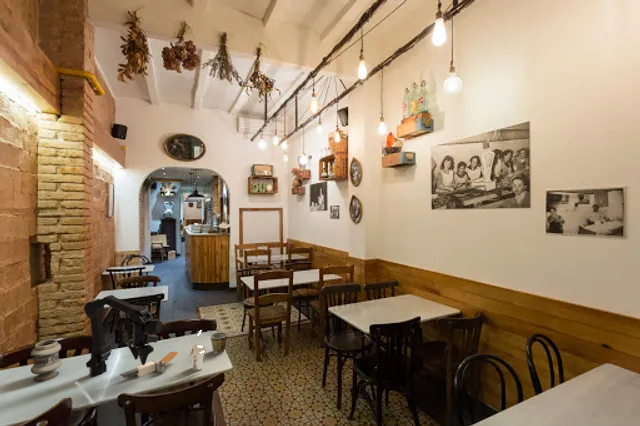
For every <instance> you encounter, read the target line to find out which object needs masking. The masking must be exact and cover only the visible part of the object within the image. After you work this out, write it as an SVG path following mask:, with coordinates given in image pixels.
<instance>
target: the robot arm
mask: <svg viewBox="0 0 640 426" xmlns="http://www.w3.org/2000/svg"><path fill="white" fill-rule="evenodd" d="M105 305H106V306H109V307H110V308H112V309H114V310H115V309H116V310H117V311H120V312H123V313H124V314H126V315H127V316H128V318H129V319H131V322H129V325H133V334H131V336H132V337H131V338H130V339H128V340H127V342H126V346H127V348H128V350H129V351H130V352H131V355H132V356H133V359H134V360H138V358H139V360H140V364H141V365H145V363H147V360H148V356H149V355H150V354H151V353H152V352H153V353H154V350H155V349H154V346H152V345H150V343H157V342H158V340H159V339H158V338H159V336H158V335H157V334H159V333H160V332H161V331H162V329H163V324H162V322H161V321H160V318H157V319H154V317H153V315H152V314H151V312H149V309H148V308H147V307H146V306H143V305H135V304H132V303H129V302H128V301H125V300H124V299H123V300H122V299H120V298H118V297H116V296H115V295H113V294H110V295H107V296H104V297H103V298H101V299H100V298H95V299H93V300H91V301H88V302H86V303H85V304H84V306H83V310H84V312H85V315H86V317H88V318H89V320H90V328H91V337H92V342H93V344H92V345H93V347H92V350H91V352H90V359H88V361H87V362H86V363H85V365H86V368H88V369H89V374H88V376H90V377H91V378H92V377H98V376H100V375H103V374H104V373H106V372H107V371H108V370H107V363H106V362H107V361H108V360H109V358H110V356H111V354H112V352H113V351H112V346H111V345H112V344H108V343H107V342H106V338H105V332H104V331H105V330H104V324H103V317H102V315H103V313H104V311H105Z"/></svg>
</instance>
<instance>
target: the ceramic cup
mask: <svg viewBox="0 0 640 426" xmlns="http://www.w3.org/2000/svg"><path fill="white" fill-rule="evenodd" d="M209 337H210V338H209V339H210V342H211V346H212V352H213V354H215V355H220V354H222V353H224V352H225V351H224V350H226V344H227V340H228V339H227V338H228V333H226V332H222V331H220V332H219V331H218V332H214V333H212V334H211V335H210V336H209Z"/></svg>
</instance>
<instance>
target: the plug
mask: <svg viewBox="0 0 640 426" xmlns="http://www.w3.org/2000/svg"><path fill="white" fill-rule="evenodd" d="M135 368H136V371H134V372H132V371H131V373H129V374H127V373H126V374H125V375H126V377H132V376H133V375H134V376H136V375H137V376H136V377H137V378H139V377H140V378H142V377H143V375H144V376H145V375H146V376H147V374H148V375H149V373H150V374H152V373H155V372H156V370H155V363H154V362H153V361H152V360H150V361H147V362H146V363H145V365H142V364H140V365H137V366H136V367H135ZM154 371H155V372H154ZM134 376H133V377H134ZM126 377H125V378H126Z"/></svg>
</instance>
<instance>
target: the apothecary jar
mask: <svg viewBox="0 0 640 426" xmlns="http://www.w3.org/2000/svg"><path fill="white" fill-rule="evenodd" d="M61 349H62V345H61V344H60V343H59V342H58V340H57V339H45V340H42V341H39V342H37V343H36V344H35V346H34V348H33V349H32V350H31V352H30V356H31V357H32V358H33V365H31V368H30V372H31V373H32V374H33V375H36V376H35V377H34V378H33V381H34V382H36V383H39V382H46V381H50V380H52V379H53V380H54V379H55V378H56V377H58V376H59V374H60V372H59V371H57V370H58V369H59V368H60V367H61V365H63V364H62V363H63V361H62V359H61V358H59V357H60V356H59V352H60V350H61Z"/></svg>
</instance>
